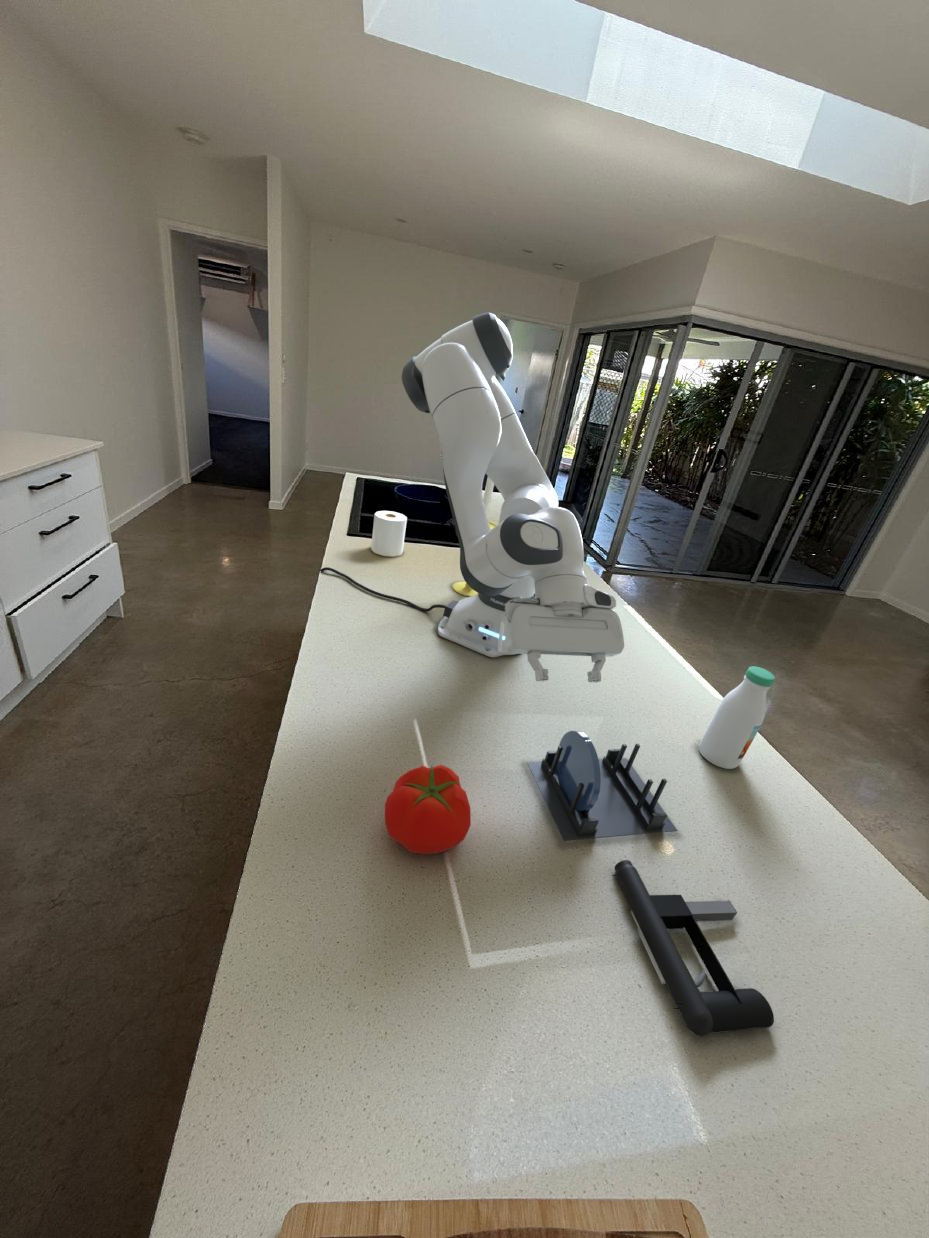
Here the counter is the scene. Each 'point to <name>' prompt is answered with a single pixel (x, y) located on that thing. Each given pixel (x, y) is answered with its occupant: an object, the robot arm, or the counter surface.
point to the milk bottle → (737, 720)
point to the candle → (463, 586)
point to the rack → (604, 799)
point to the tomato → (428, 810)
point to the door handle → (695, 1007)
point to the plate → (579, 769)
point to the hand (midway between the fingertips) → (568, 681)
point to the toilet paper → (388, 533)
